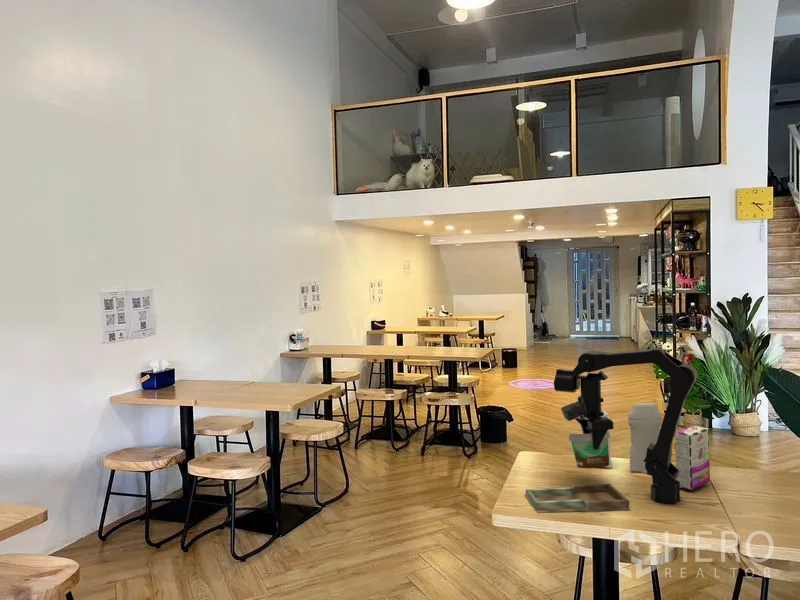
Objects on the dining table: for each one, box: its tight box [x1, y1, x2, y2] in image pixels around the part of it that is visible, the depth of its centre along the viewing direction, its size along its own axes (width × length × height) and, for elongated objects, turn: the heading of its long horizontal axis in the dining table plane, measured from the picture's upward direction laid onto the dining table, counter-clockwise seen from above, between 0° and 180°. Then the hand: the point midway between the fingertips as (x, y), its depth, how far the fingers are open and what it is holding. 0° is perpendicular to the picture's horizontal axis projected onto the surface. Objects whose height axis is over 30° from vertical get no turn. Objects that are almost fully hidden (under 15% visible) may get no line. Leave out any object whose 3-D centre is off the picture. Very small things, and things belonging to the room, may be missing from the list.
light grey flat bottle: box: [627, 402, 663, 474], centre depth 184 cm, size 11×4×22 cm, turn 87°
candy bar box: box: [674, 425, 711, 491], centre depth 172 cm, size 11×5×16 cm, turn 126°
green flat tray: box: [524, 483, 630, 514], centre depth 160 cm, size 25×13×2 cm, turn 93°
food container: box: [568, 432, 611, 469], centre depth 170 cm, size 12×6×10 cm, turn 94°
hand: (591, 446), depth 171 cm, fingers closed on food container, 6 cm apart
